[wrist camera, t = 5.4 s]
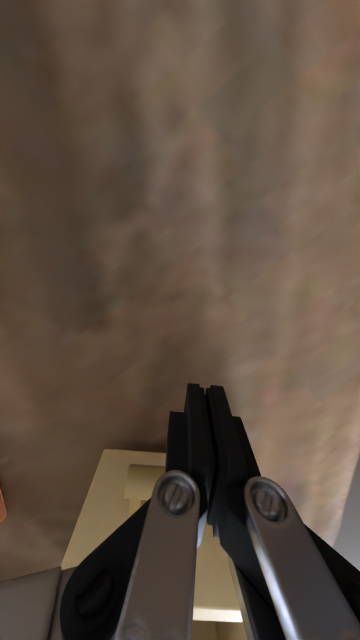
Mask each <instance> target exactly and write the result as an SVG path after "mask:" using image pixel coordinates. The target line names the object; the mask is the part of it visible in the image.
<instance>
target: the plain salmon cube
mask: <svg viewBox="0 0 360 640" xmlns="http://www.w3.org/2000/svg"><path fill="white" fill-rule="evenodd" d="M6 515H7V511H6V507H5V503H4V499H3V495H2V491H1V487H0V524H1V522H2V521H3V519H4V518H5V516H6Z"/></svg>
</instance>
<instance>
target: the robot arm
mask: <svg viewBox="0 0 360 640" xmlns="http://www.w3.org/2000/svg"><path fill="white" fill-rule="evenodd" d="M206 519H207V525H208V526H212V529H213V538H219V540H220V546H221V547H222V548H223V549H224V550H225V552H226V553H227V557H228V564H229V568H230V572H231V576H232V580H233V584H234V588H235V591H236V595H237V599H238V603H239V607H240V611H241V615H242V619H243V623H244V627H245V631H246V635H247V639H248V640H360V571H359V570H358V569H356V568H355V567H354V566H353V565H352V564H351V563H349V562H348V561H347V560H346V559H345V558H344V557H342V556H341V555H340V554H339V553H338V552H336V551H335V550H334V549H333V548H332V547H331V546H329V545H328V544H327V543H326V542H325V541H324V540H322V539H321V538H320V537H319V536H318V535H317V534H315V533H314V532H313V531H312V530H311V529H310V528H308V527H307V526H306V525H305V524H304V523H303V521H302V520H301V518H300V516H299V514H298V512H297V511H296V509H295V507H294V505H293V503H292V502H291V500H290V498H289V497H288V495H287V494H286V492H285V491H284V490H283V489H282V488H281V487H280V486H279V485H278V484H277V483H275V482H274V481H272V480H271V479H268V478H266V477H261V474H260V471H259V468H258V466H257V463H256V460H255V457H254V454H253V451H252V448H251V445H250V443H249V440H248V437H247V434H246V431H245V428H244V425H243V423H242V420H241V418H240V417H236V416H232V414H231V411H230V408H229V404H228V401H227V398H226V394H225V391H224V388H223V386H216V385H211V386H210V388H206V393H205V394H204V388H202V387H200V386H199V384H192V383H188V384H187V392H186V400H185V408H184V412H174V411H170V415H169V425H168V436H167V449H166V462H165V473H164V474H163V475H161V476H160V477H159V479H158V480H157V481H156V483H155V486H154V488H153V492H152V496H151V498H150V499H149V500H148V501H147V502H145V503H144V504H143V505H142V506H141V507H140V508H139V509H138V510H137V511H136V512H135V513H134V514H132V515H131V516H130V517H129V518H128V519H127V520H126V521H125V522H124V523H123V524H122V525H120V526H119V527H118V528H117V529H116V530H115V531H114V532H113V533H112V534H111V535H110V536H109V537H107V538H106V539H105V540H104V541H103V542H102V543H101V544H100V545H99V546H98V547H97V548H96V549H94V550H93V551H92V552H91V553H90V554H89V555H88V556H87V557H86V558H85V559H84V560H83V561H82V562H81V563H80V564H79V565H78V566H76V567H72V568H68V569H64V570H62V567H57V568H53V569H49V570H45V571H41V572H37V573H33V574H29V575H25V576H21V577H18V578H14V579H10V580H6V581H2V582H0V640H192V624H193V607H194V591H195V574H196V557H197V549H198V547H199V546H200V545H201V541H202V536H203V532H204V527H205V522H206Z"/></svg>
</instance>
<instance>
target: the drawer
mask: <svg viewBox="0 0 360 640" xmlns="http://www.w3.org/2000/svg"><path fill="white" fill-rule="evenodd" d="M165 462H166V453H155V452H142V451H129V450H116V449H104V451H103V453H102V456H101V459H100V461H99V464H98V467H97V470H96V472H95V475H94V478H93V480H92V483H91V486H90V488H89V491H88V494H87V496H86V499H85V502H84V504H83V507H82V510H81V512H80V515H79V518H78V520H77V523H76V526H75V528H74V531H73V534H72V537H71V539H70V542H69V545H68V547H67V550H66V553H65V555H64V558H63V561H62V563H61V566H60V567H62V570H64V569H68V568H72V567H76V566H78V565H79V564H80V563H81V562H82V561H83V560H84V559H85V558H86V557H87V556H88V555H89V554H90V553H91V552H92V551H93V550H94V549H96V548H97V547H98V546H99V545H100V544H101V543H102V542H103V541H104V540H105V539H106V538H107V537H109V536H110V535H111V534H112V533H113V532H114V531H115V530H116V529H117V528H118V527H119V526H120V525H122V524H123V523H124V522H125V521H126V520H127V519H128V518H129V517H130V516H131V515H132V514H134V513H135V512H136V511H137V510H138V509H139V508H140V507H141V506H142V505H143V504H144V503H145V502H147V501H148V500H149V499H150V498H151V496H152V492H153V488H154V486H155V483H156V481H157V480H158V479H159V477H160V476H161V475H163V474H164V473H165ZM192 640H248V639H247V635H246V631H245V627H244V623H243V619H242V615H241V611H240V607H239V603H238V599H237V595H236V591H235V588H234V584H233V580H232V576H231V572H230V568H229V564H228V557H227V553H226V552H225V550H224V549H223V548H222V547H221V546H220V540H219V538H213V529H212V526H208V525H207V519H206V522H205V527H204V532H203V536H202V541H201V545H200V546H199V547H198V549H197V557H196V574H195V591H194V607H193V624H192Z"/></svg>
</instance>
